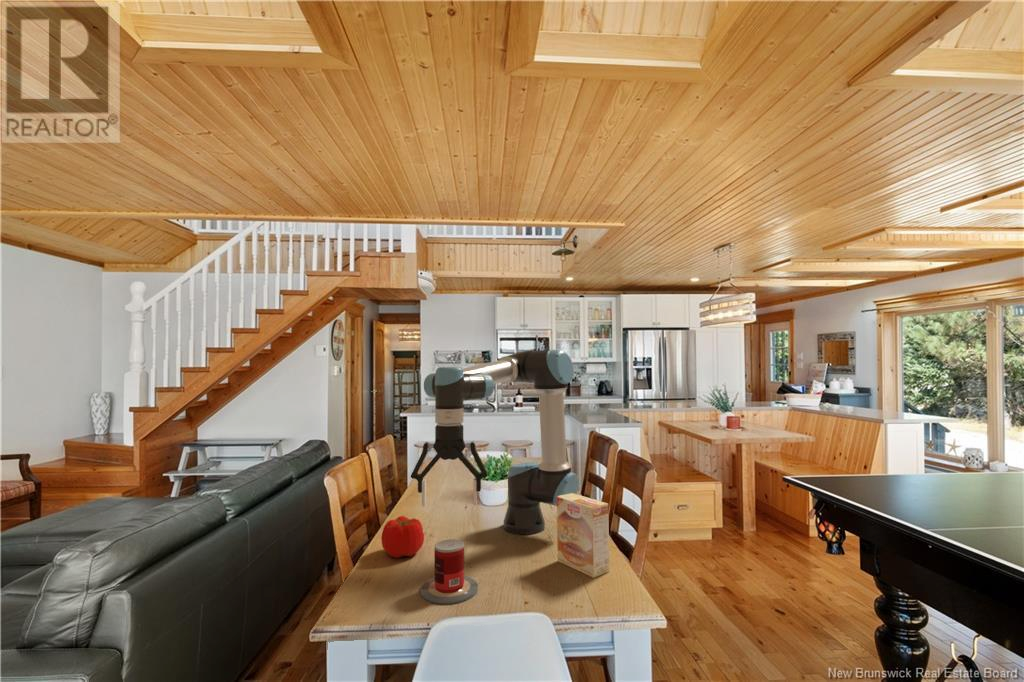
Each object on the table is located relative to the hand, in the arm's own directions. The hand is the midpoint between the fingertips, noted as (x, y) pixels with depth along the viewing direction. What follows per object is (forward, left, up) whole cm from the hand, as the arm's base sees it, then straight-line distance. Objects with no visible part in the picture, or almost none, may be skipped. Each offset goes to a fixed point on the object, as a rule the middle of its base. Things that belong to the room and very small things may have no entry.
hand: (449, 504), depth 129 cm
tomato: (+17, -26, -23) cm, 38 cm away
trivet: (0, 0, -22) cm, 22 cm away
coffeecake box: (-38, -13, -23) cm, 46 cm away
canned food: (0, 0, -22) cm, 22 cm away
